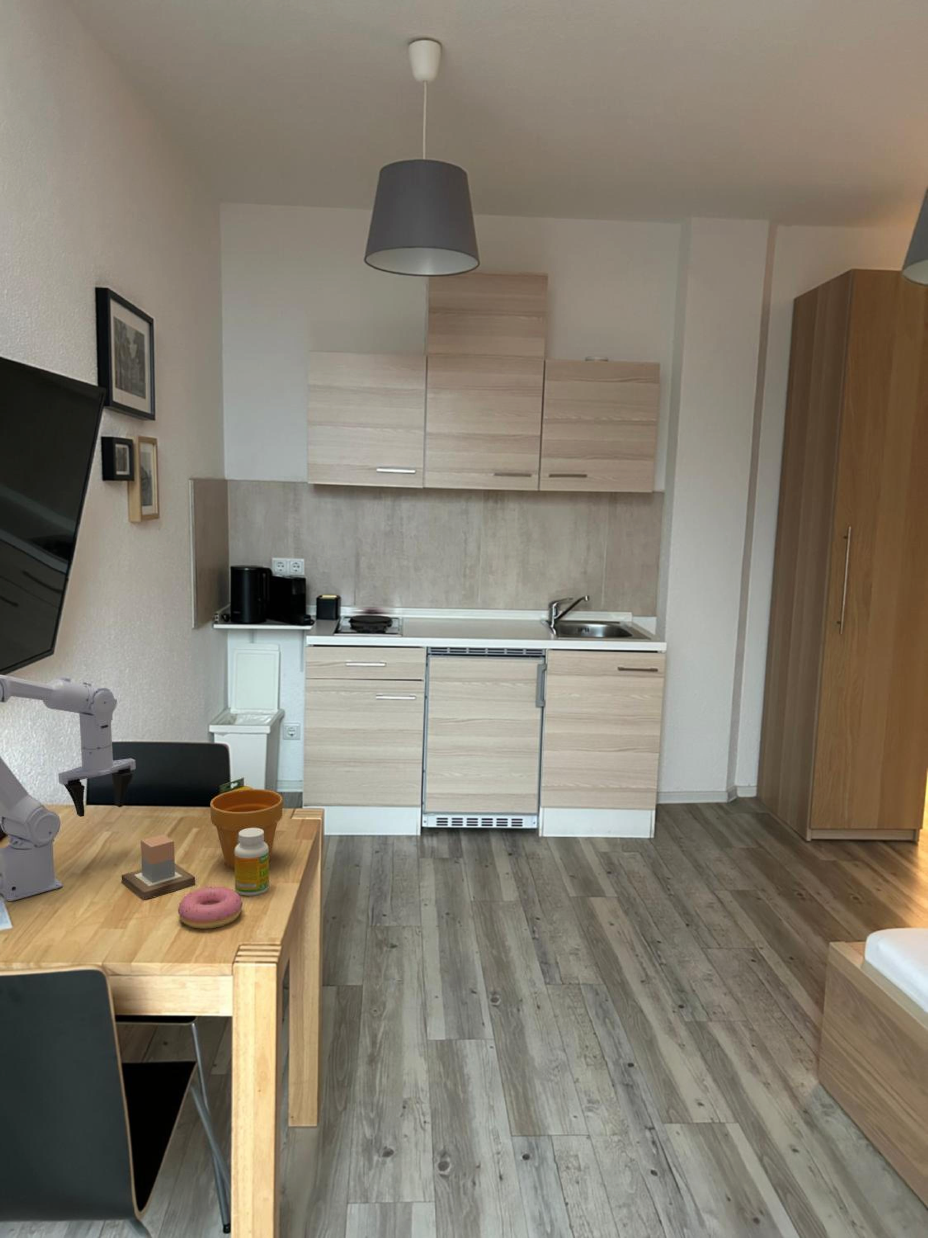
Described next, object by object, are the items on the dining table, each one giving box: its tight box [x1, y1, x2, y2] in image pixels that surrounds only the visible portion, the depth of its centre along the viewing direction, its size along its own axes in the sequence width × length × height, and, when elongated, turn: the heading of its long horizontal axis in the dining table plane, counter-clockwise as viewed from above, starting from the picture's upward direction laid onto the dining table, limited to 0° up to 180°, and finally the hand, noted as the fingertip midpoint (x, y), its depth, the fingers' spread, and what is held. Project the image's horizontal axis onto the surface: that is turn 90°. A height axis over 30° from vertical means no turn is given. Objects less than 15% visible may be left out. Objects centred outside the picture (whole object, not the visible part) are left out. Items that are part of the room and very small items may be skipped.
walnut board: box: [121, 863, 196, 901], centre depth 165 cm, size 10×10×2 cm
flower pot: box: [209, 788, 284, 870], centre depth 175 cm, size 14×14×13 cm
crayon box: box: [219, 777, 254, 795], centre depth 190 cm, size 7×3×12 cm, turn 148°
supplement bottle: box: [234, 828, 270, 897], centre depth 162 cm, size 6×6×11 cm
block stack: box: [140, 834, 176, 883], centre depth 164 cm, size 4×4×7 cm
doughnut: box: [177, 885, 243, 930], centre depth 152 cm, size 11×11×4 cm
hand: (100, 810), depth 174 cm, fingers open, 7 cm apart
